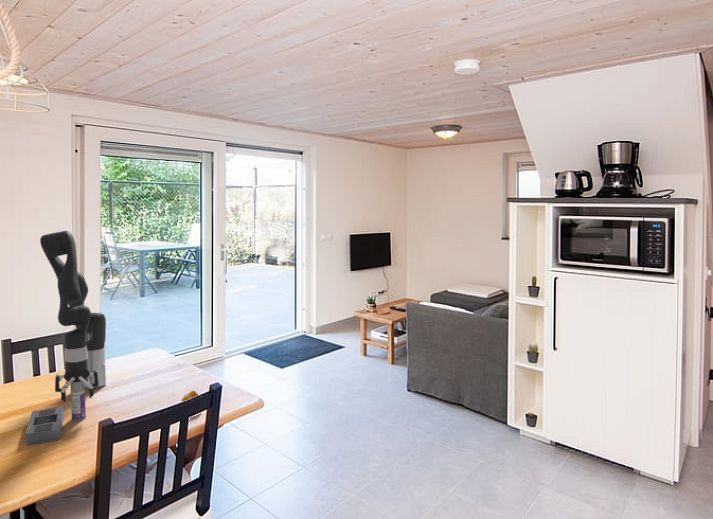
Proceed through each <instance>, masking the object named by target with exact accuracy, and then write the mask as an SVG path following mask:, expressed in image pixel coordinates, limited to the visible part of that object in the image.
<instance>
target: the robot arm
mask: <svg viewBox="0 0 713 519" xmlns="http://www.w3.org/2000/svg"><path fill="white" fill-rule="evenodd" d="M39 241H40V246H41V248H42V252H43V253H44V255H45V257H46V259H47V260H48V263H49V264H50V266H51V268H52V269H53V272H54V273H55V277H56V279H57V291H58V295H59V308H58V314H57V321H58V323H59V324H60V325H61V326H63V327H70V326H75V329H72V330H69V331H67V332H66V333H64V356H63V357H64V358H63V360H64V374H56V375H55V379H54V383H55V384H54V387H55V388H54V392H55V393H60V397H61V401H62V402H63V403H65V402H67V393H66V391H67V389H68V388H69V387H71V383H72V382H78V381H82V382H83V383H84V386H85V389H89V392H88V393H89V396H88V398H89V399H92V397H94V395H95V394H94V393H95V392H94V390H95V389H97V388H100V387H104V386H106V384H107V382H106V381H107V378H106V377H107V376H106V375H107V374H106V355H105V354H106V351H105V350H106V348H105V344H106V329H107V327H106V326H107V320H106V316H105V314H104V313H102V312H91V309H90V308H89V307H88V306H87V305H84V304H85V300H86V299H87V297H88V293H89V287H88V284H87V282H86V279H85V277H84V275H83V274H82V273H81V272H79V271H78V260H77V259H78V258H77V247H76V241H75V239H74V236H73V234H72V232H71V231H69V230H61V231H56V232H52V233H47V234H43V235H41V237H40V240H39ZM65 255H66V260H65V262H64V261H62V259H61V258H60V256H65ZM87 334H91V335H92V336H91V338H89V339H87ZM63 379H64V380H65V383H64V385H63V386H62V387H60V382H61V381H62V380H63Z"/></svg>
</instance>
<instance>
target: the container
mask: <svg viewBox="0 0 713 519" xmlns="http://www.w3.org/2000/svg"><path fill="white" fill-rule="evenodd" d="M85 389H86V388H85V386H84V383H83V382H82V381H78V382H72V383H71V384H70V408H71V409H70V410H71V420H72V421H74V422H79V421H82V420H85V419H86V417H87V415H86V414H87V412H86V411H87V410H86V390H85Z"/></svg>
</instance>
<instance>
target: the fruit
mask: <svg viewBox="0 0 713 519" xmlns="http://www.w3.org/2000/svg"><path fill="white" fill-rule="evenodd" d="M198 395H199V393H198V392H197V391H196V390H195V391H194V390H192V391H190V392H187V393H186V394H185V395H184V396H183V397H182V398H181V402H182V401H185V400H188V399H190V398H193V397H195V396H198ZM199 396H200V395H199ZM181 402H180V403H181Z"/></svg>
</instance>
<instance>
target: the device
mask: <svg viewBox="0 0 713 519" xmlns="http://www.w3.org/2000/svg"><path fill="white" fill-rule="evenodd" d="M64 408H65V407H64V406H58V407H52V408H44V409H39V410H33V411H31V414H30V419H29V421H28V424H27V427H26V430H25V433H24V436H25V438H24V439H25V446H31V445H36V444H37V445H38V444H43V443H48V442H53V441H58V440H61V436H62V430H63V424H64V418H65V412H64V410H65V409H64Z"/></svg>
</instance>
